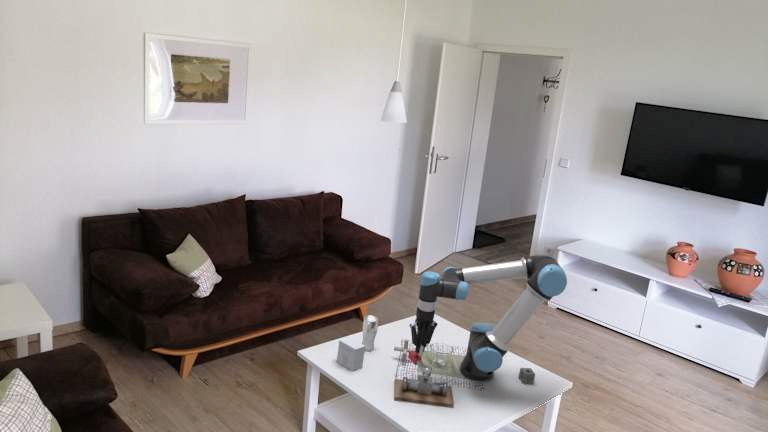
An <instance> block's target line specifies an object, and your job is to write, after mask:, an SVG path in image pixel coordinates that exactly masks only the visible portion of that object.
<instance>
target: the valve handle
mask: <svg viewBox="0 0 768 432" xmlns="http://www.w3.org/2000/svg"><path fill="white" fill-rule="evenodd" d="M407 355H408V356H407V358H408V359H409V361H411V362H412V364H413V365H414V366H417V367H418V368H419V369H420V370H421V371H422V372H421V375H423V376H426V377H429V376H431V377H432V370H433V368H432V367H431V366H429V365H426V364H425V363H424V362H423V361H421V357H420V356H419V355H418V354H417V353H416V352H415V351H409V353H407Z"/></svg>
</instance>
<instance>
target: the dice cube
mask: <svg viewBox="0 0 768 432" xmlns="http://www.w3.org/2000/svg"><path fill="white" fill-rule="evenodd" d="M535 377H536V373H535V372H534V370H533V369H532V368H531V367H520V368H519V373H518V379H519V380H520V382H521V383H522V384H523V385H528V384H529V385H533V384H534V382H535Z"/></svg>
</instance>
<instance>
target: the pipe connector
mask: <svg viewBox="0 0 768 432" xmlns="http://www.w3.org/2000/svg"><path fill="white" fill-rule="evenodd" d="M415 349H416V348H415ZM415 349H414V348H409V339H408V338H404V342H403V347H402V346H395V345H394V348H393V350H394V351H397V352H402V355H401V356H402V357H401V361H402V362H405V361H406V360H407V355H408V354H409V351H415Z"/></svg>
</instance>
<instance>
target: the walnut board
mask: <svg viewBox="0 0 768 432" xmlns="http://www.w3.org/2000/svg"><path fill="white" fill-rule="evenodd" d="M402 382H403V379H400V378H394V382H393V383H394V390H393V394H394V395H393V400H394V401H397V402H407V403H414V404H420V405H421V404H422V405H430V406H437V407H446V408H452V409H453V408H454V406H455V401H454V397H453V394H454V393H453V388H452V385H448V384H447V394H446V396H442V394H436V393H431V396H429V395H421V394H417V391H412V390H406V391H402Z"/></svg>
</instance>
